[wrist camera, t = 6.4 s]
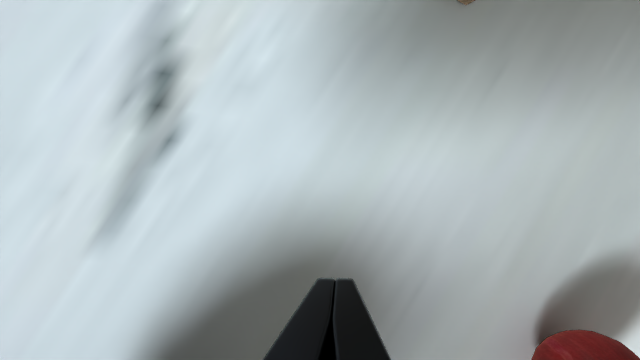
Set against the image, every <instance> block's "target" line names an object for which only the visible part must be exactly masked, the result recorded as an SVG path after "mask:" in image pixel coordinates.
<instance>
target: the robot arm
mask: <svg viewBox="0 0 640 360" xmlns="http://www.w3.org/2000/svg"><path fill="white" fill-rule="evenodd" d="M263 360H391V358H390V356H389V354H388V352H387V350H386V348H385V346H384V344H383V342H382V339H381V337H380V335H379V333H378V331H377V329H376V327H375V325H374V322H373V320H372V318H371V316H370V314H369V312H368V310H367V308H366V305H365V303H364V301H363V299H362V297H361V295H360V293H359V291H358V289H357V286H356V284H355V282H354V280H353V279H350V278H337V279H336V281H335V279H333V278H319V279H317V280H316V282H315V283H314V285H313V286H312V288H311V289H310V291H309V292H308V294H307V295H306V297H305V298H304V299H303V301H302V302H301V304H300V305H299V307H298V308H297V310H296V311H295V313H294V314H293V316H292V317H291V319H290V320H289V322H288V323H287V325H286V326H285V328H284V329H283V331H282V332H281V334H280V335H279V336H278V338H277V339H276V341H275V342H274V344H273V345H272V347H271V348H270V350H269V351H268V353H267V354H266V356H265V357H264V359H263Z"/></svg>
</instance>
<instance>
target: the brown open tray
mask: <svg viewBox="0 0 640 360" xmlns="http://www.w3.org/2000/svg"><path fill="white" fill-rule="evenodd" d="M458 1H459V2H461V3H463V4H464V5H467V4H469V3H471V2H473V1H475V0H458Z"/></svg>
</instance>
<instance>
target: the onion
mask: <svg viewBox="0 0 640 360" xmlns="http://www.w3.org/2000/svg"><path fill="white" fill-rule="evenodd" d="M531 360H640V358H639V357H638V356H636V355H635V354H634V353H633V352H632V351H631V350H630V349H628V348H627V347H626V346H625V345H623V344H622V343H621V342H619V341H617V340H614V339H612V338H609V337H607V336H604V335H602V334H599V333H596V332H593V331H585V330H569V331H563V332H559V333H556V334H554V335H552V336H550V337H547V338H546V339H545V340H544V341H543V342H542V343H541V344H540V345H539V346H538V347H537V348H536V350H535V353H534V355H533V357H532V359H531Z"/></svg>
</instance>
